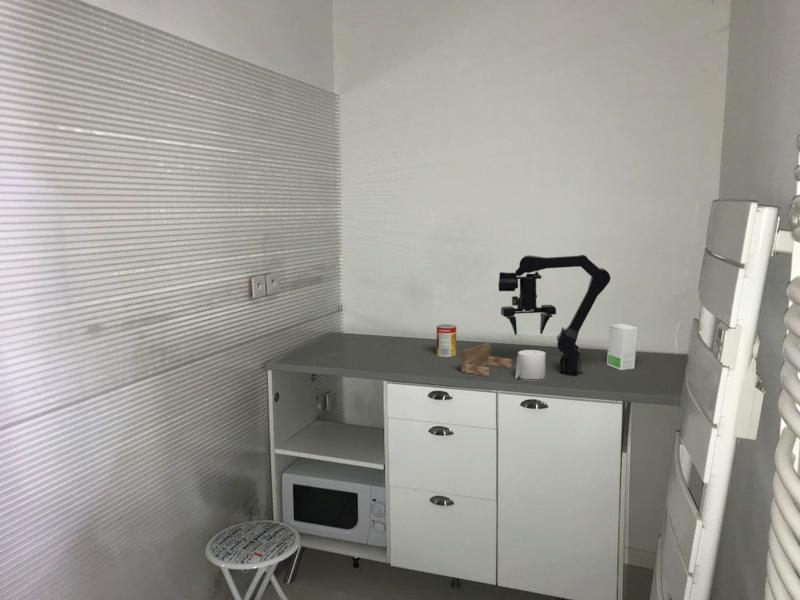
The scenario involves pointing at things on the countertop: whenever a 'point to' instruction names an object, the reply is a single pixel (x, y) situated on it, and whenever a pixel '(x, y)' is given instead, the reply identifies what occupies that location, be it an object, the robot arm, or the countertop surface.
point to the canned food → (446, 340)
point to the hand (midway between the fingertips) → (528, 334)
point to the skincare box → (622, 346)
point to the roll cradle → (481, 360)
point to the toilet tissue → (531, 364)
